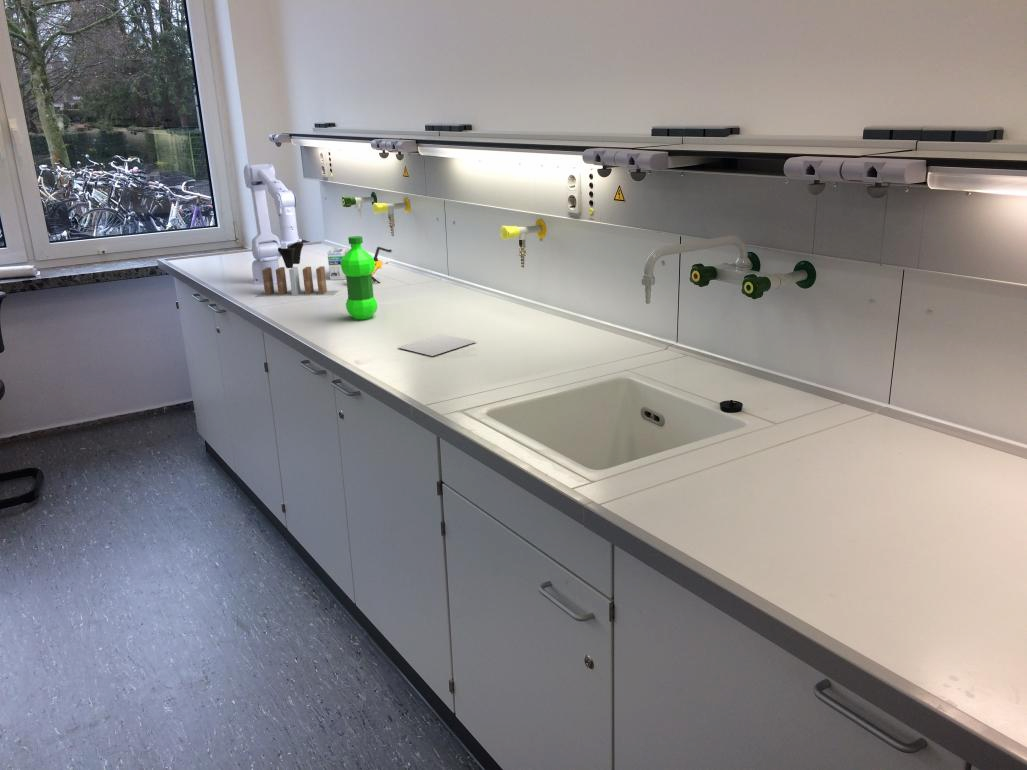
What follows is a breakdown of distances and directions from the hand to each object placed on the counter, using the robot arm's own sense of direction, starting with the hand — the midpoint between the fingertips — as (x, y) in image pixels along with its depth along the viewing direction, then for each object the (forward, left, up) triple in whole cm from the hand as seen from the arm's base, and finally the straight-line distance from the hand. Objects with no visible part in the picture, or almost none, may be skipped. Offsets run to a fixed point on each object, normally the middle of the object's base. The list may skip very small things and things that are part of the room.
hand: (293, 265), depth 295 cm
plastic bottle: (+32, -35, -10) cm, 49 cm away
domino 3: (+5, 0, -10) cm, 11 cm away
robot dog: (+23, +16, -10) cm, 30 cm away
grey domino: (0, 0, -10) cm, 10 cm away
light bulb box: (+8, +30, -10) cm, 33 cm away
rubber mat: (0, 0, -10) cm, 10 cm away
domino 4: (+10, 0, -10) cm, 14 cm away
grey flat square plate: (+62, -74, -11) cm, 97 cm away
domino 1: (-10, 0, -10) cm, 14 cm away
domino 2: (-5, 0, -10) cm, 11 cm away
